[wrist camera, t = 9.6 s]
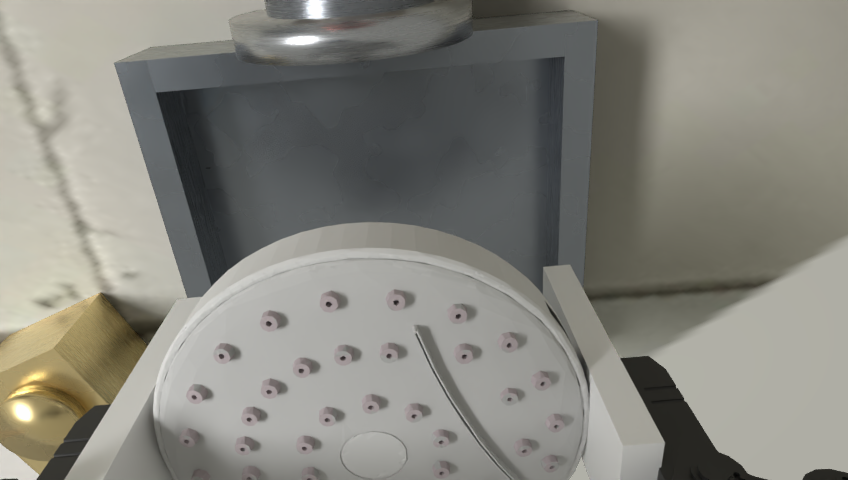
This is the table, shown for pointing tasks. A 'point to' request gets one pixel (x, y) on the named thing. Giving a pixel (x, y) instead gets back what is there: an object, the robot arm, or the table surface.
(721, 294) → the table surface
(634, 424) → the robot arm
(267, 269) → the showerhead
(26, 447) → the brass block
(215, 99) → the metal assembly
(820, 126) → the table surface
